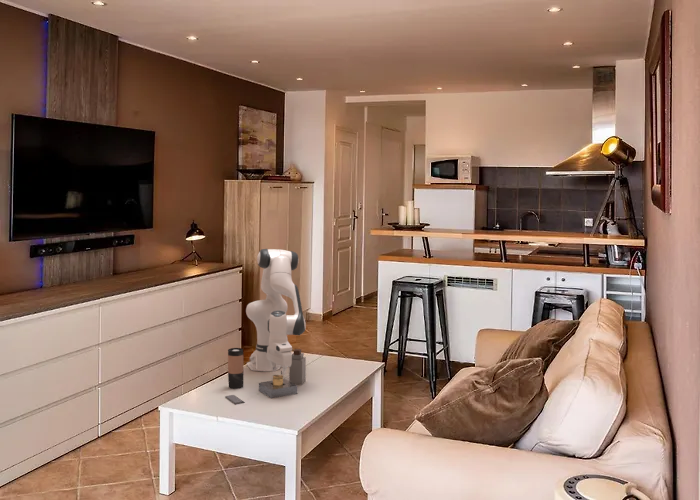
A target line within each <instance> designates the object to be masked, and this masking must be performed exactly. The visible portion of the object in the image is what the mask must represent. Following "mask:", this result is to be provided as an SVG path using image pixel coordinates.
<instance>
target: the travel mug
mask: <svg viewBox="0 0 700 500" xmlns="http://www.w3.org/2000/svg"><path fill="white" fill-rule="evenodd" d="M244 370H245V368H244V349H243V348H241V347H232V348H228V349H227V375H228V378H227V379H228V381H227V382H228V389H230V390H239V389H243V388H244V375H245V374H244Z"/></svg>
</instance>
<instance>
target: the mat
mask: <svg viewBox="0 0 700 500" xmlns="http://www.w3.org/2000/svg"><path fill="white" fill-rule="evenodd" d="M224 397H225V399H226V398H227V400H228V401H229V402H231V403H232V404H234V405H240V404H246V402H245V401H244V400H243V399H241V398H239V397H237V396H236V395H235V394H229V395H224Z"/></svg>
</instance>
